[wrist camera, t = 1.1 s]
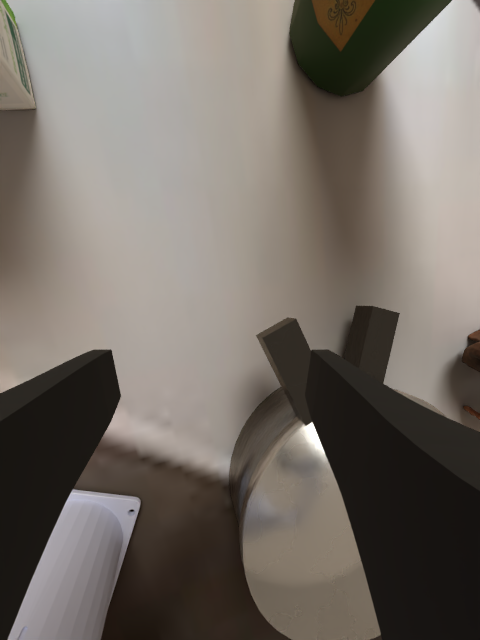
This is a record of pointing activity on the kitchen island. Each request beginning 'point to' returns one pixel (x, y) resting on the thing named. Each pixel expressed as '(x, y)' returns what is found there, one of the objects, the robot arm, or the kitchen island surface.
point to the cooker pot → (276, 412)
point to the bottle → (355, 38)
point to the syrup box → (13, 65)
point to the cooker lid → (302, 520)
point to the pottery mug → (473, 361)
